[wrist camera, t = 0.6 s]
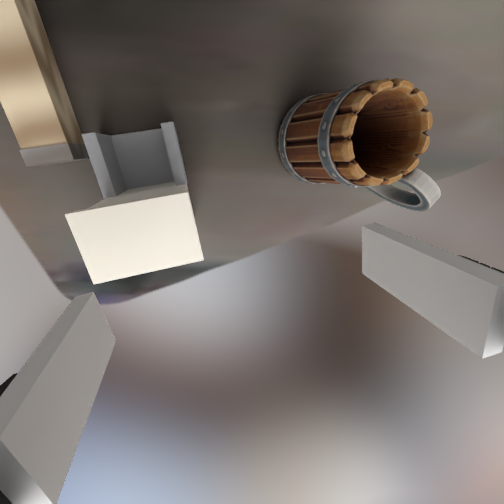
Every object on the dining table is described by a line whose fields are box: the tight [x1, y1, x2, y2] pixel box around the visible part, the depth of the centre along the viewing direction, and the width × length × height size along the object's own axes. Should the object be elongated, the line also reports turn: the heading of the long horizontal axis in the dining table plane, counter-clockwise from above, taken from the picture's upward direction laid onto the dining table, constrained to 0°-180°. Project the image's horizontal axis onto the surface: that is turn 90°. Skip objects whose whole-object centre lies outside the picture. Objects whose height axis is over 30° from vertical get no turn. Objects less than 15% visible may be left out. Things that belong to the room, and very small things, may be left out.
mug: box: [277, 78, 441, 211], centre depth 30 cm, size 16×11×15 cm
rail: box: [0, 0, 90, 167], centre depth 25 cm, size 16×4×5 cm, turn 9°
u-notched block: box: [65, 122, 204, 284], centre depth 26 cm, size 11×9×15 cm
